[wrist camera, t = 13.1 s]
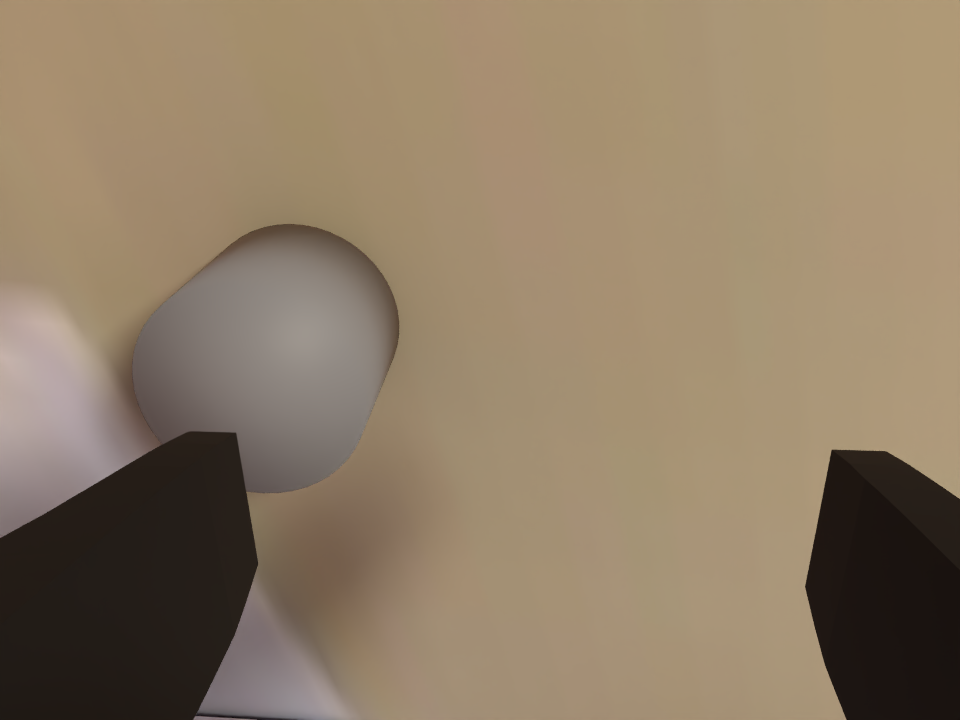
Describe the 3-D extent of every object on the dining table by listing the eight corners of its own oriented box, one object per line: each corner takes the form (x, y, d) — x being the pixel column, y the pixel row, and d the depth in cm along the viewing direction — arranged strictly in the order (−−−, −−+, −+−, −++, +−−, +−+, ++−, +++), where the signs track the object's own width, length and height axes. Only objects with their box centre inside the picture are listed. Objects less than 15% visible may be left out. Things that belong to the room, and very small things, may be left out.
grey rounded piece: (220, 403, 22) (155, 488, 19) (189, 222, 20) (110, 279, 17) (404, 409, 22) (374, 497, 18) (393, 224, 20) (357, 283, 16)
